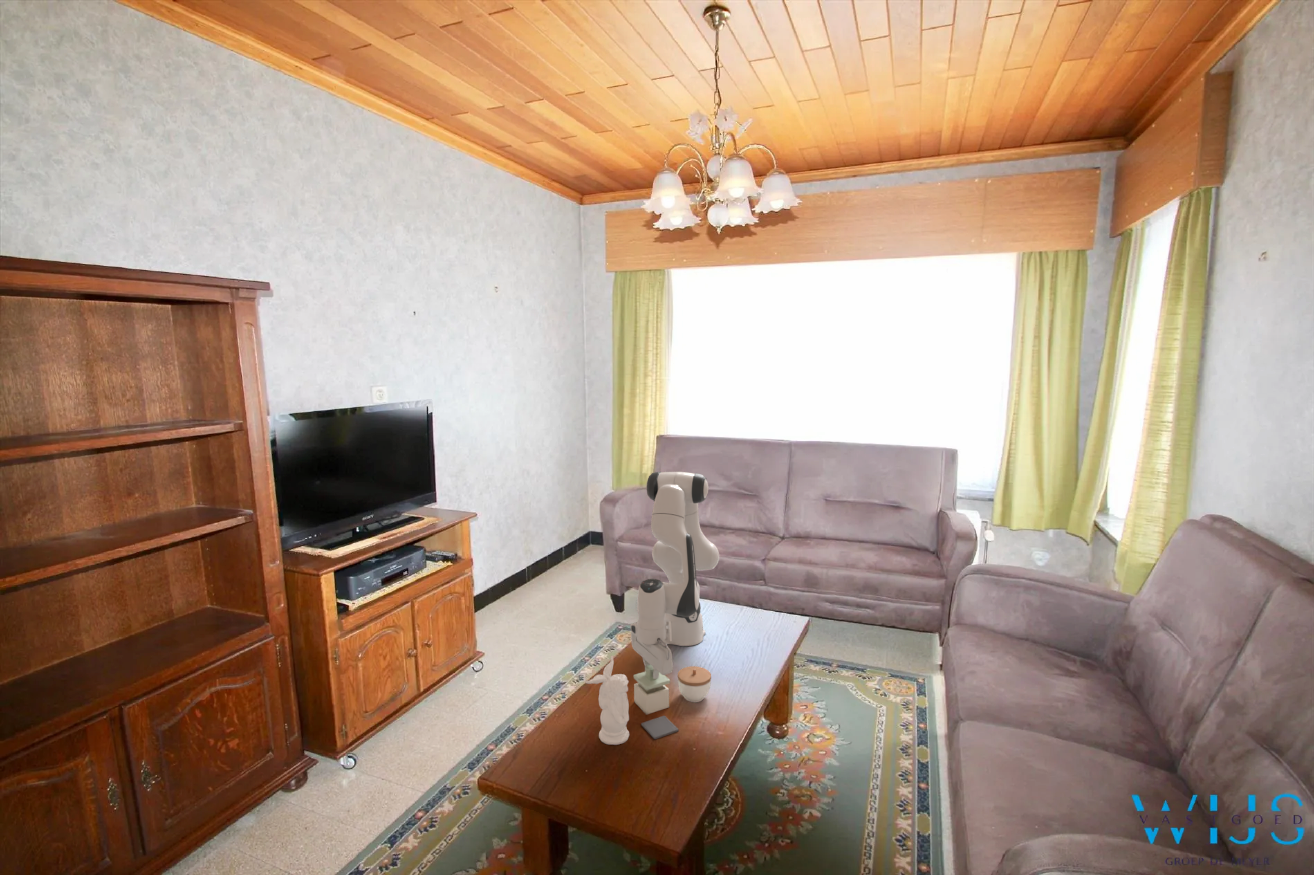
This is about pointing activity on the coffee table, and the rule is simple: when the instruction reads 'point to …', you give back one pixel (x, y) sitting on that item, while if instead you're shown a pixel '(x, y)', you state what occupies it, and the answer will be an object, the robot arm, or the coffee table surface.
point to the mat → (659, 727)
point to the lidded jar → (694, 683)
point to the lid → (650, 679)
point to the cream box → (651, 698)
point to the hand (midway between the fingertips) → (651, 674)
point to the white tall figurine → (613, 705)
